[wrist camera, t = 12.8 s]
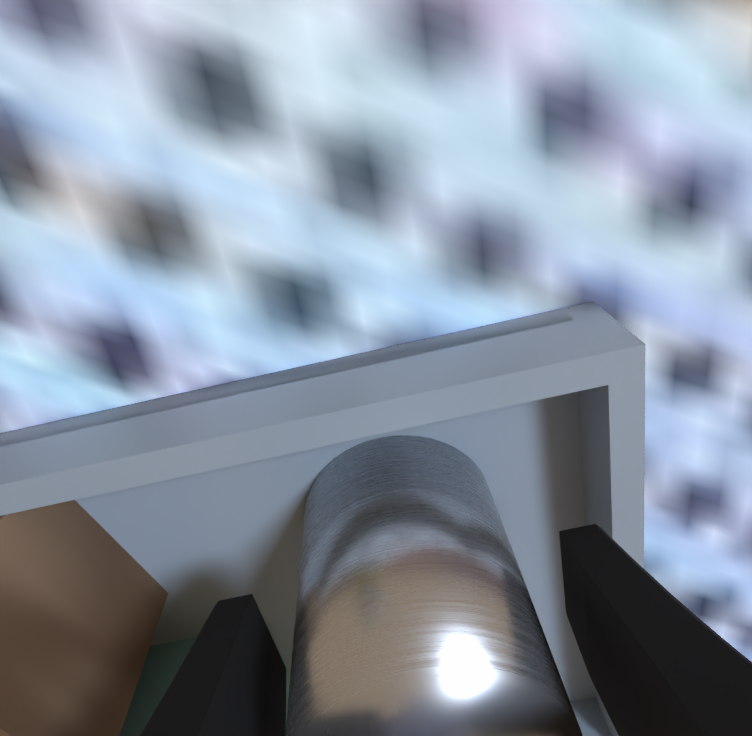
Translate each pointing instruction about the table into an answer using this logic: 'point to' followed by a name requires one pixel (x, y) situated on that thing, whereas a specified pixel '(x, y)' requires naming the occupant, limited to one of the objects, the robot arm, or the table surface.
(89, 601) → the walnut cube
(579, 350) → the tray
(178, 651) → the teal block
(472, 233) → the table surface
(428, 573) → the cylinder
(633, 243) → the table surface
